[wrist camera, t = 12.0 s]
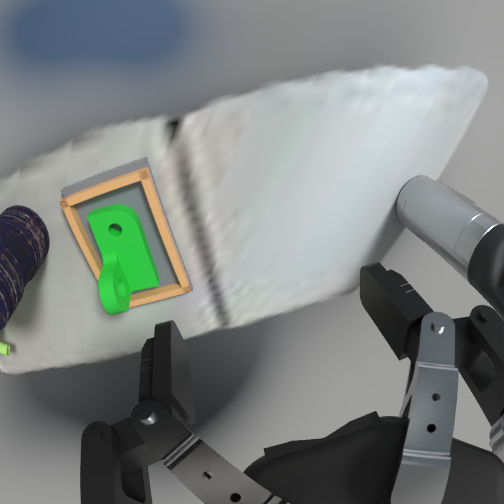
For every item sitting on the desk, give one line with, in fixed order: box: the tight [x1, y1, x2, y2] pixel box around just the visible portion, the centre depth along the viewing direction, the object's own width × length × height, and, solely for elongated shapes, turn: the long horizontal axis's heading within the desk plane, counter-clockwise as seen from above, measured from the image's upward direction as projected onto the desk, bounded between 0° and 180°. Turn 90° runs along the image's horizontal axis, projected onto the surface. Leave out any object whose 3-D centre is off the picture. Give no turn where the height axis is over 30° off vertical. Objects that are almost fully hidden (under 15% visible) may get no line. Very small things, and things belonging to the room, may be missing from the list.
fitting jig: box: [60, 157, 193, 308], centre depth 39 cm, size 12×20×2 cm, turn 11°
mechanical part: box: [87, 204, 160, 315], centre depth 36 cm, size 12×6×8 cm, turn 8°
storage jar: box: [0, 205, 50, 331], centre depth 29 cm, size 10×10×15 cm
